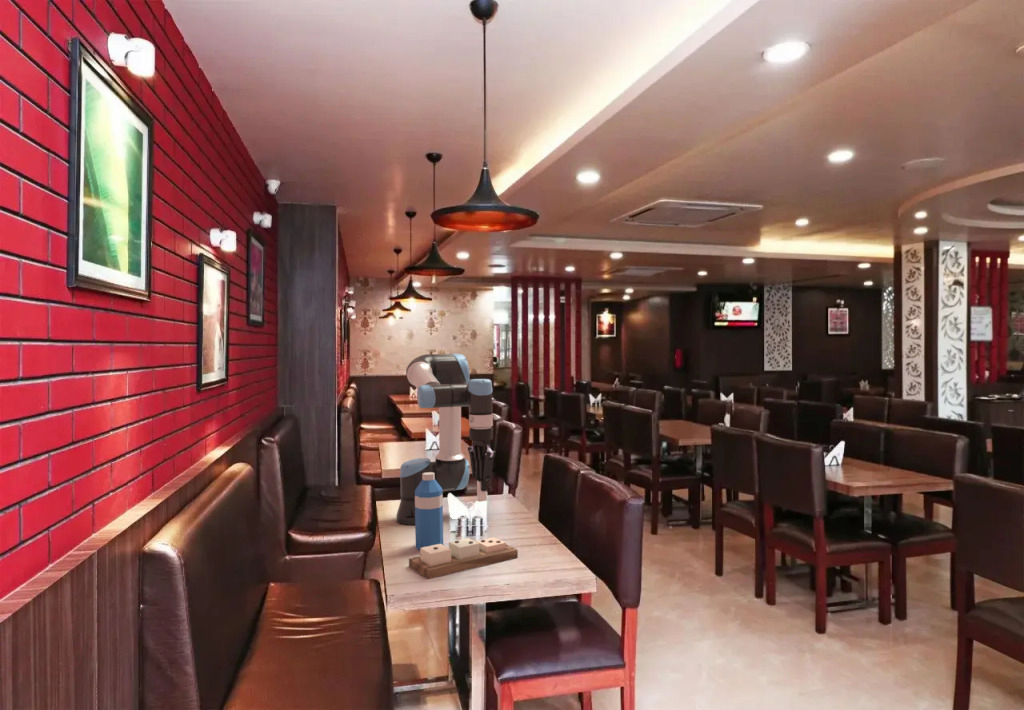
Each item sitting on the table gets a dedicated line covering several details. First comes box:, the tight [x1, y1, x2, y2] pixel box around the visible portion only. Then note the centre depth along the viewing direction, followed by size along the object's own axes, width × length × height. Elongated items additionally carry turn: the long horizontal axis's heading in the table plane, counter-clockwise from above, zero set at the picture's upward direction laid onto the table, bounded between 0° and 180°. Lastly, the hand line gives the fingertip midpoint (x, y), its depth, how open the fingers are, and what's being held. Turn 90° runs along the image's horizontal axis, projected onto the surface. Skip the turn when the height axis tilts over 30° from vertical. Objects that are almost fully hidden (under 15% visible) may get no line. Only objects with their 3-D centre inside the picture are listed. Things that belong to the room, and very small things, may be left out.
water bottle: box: [414, 472, 444, 551], centre depth 222 cm, size 9×9×25 cm
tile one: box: [419, 544, 451, 567], centre depth 201 cm, size 7×7×4 cm
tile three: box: [475, 536, 507, 553], centre depth 212 cm, size 7×7×4 cm
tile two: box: [448, 537, 479, 560], centre depth 207 cm, size 7×7×4 cm
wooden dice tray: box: [408, 544, 519, 580], centre depth 207 cm, size 13×32×2 cm, turn 124°
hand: (482, 500), depth 210 cm, fingers closed
